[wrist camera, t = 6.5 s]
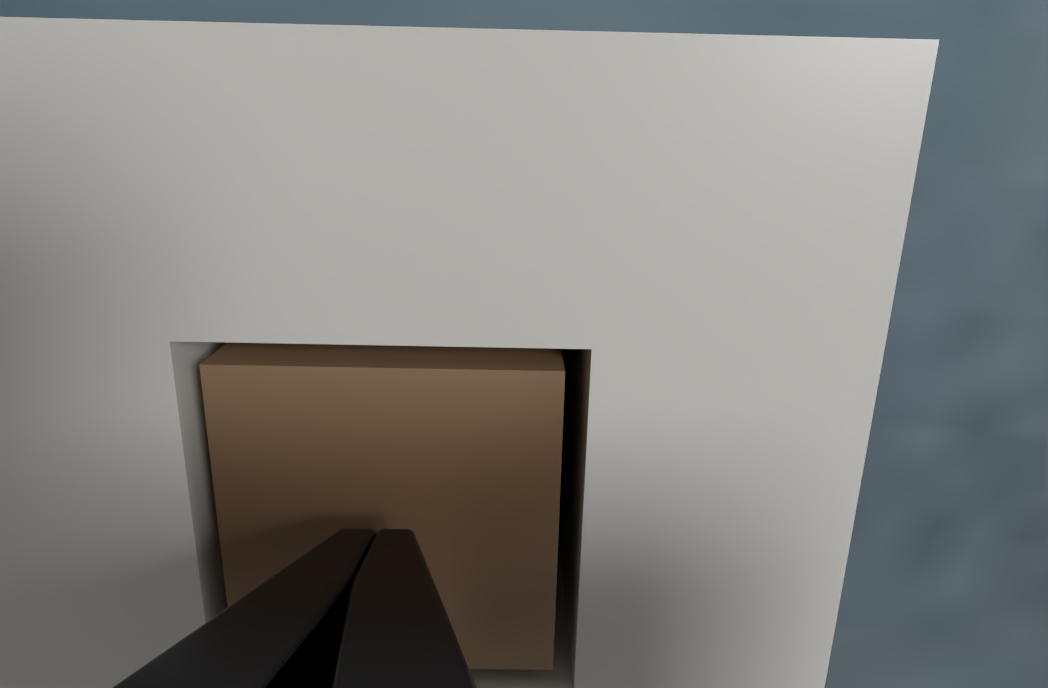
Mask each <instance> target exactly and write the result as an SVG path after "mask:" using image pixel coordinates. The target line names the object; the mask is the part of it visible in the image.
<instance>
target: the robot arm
mask: <svg viewBox="0 0 1048 688" xmlns="http://www.w3.org/2000/svg"><path fill="white" fill-rule="evenodd" d="M113 688H477V687H476V684H475V682H474V679H473V677H472V675H471V672H470V670H469V667H468V665H467V662H466V660H465V657H464V655H463V652H462V650H461V647H460V645H459V642H458V640H457V637H456V635H455V632H454V630H453V628H452V625H451V623H450V620H449V618H448V615H447V613H446V610H445V608H444V605H443V603H442V600H441V598H440V595H439V593H438V590H437V588H436V585H435V583H434V580H433V578H432V576H431V573H430V571H429V568H428V566H427V563H426V561H425V558H424V556H423V553H422V551H421V548H420V546H419V543H418V541H417V538H416V536H415V534H414V532H413V531H412V530H411V529H380V530H379V531H378V532H376V531H375V530H374V529H371V528H343V529H341V530H339V531H337V532H336V533H334V534H333V535H331V536H330V537H329V538H327V539H326V540H324V541H323V542H321V543H320V544H318V545H317V546H316V547H314V548H313V549H311V550H310V551H308V552H307V553H305V554H304V555H303V556H301V557H300V558H298V559H297V560H295V561H294V562H293V563H291V564H290V565H288V566H287V567H285V568H284V569H282V570H281V571H280V572H278V573H277V574H275V575H274V576H272V577H271V578H269V579H268V580H267V581H265V582H264V583H262V584H261V585H259V586H258V587H257V588H255V589H254V590H252V591H251V592H249V593H248V594H246V595H245V596H244V597H242V598H241V599H239V600H238V601H236V602H235V603H233V604H232V605H231V606H229V607H228V608H226V609H225V610H223V611H222V612H221V613H219V614H218V615H216V616H215V617H213V618H212V619H210V620H209V621H208V622H206V623H205V624H203V625H202V626H200V627H199V628H197V629H196V630H195V631H193V632H192V633H190V634H189V635H187V636H186V637H184V638H183V639H182V640H180V641H179V642H177V643H176V644H174V645H173V646H172V647H170V648H169V649H167V650H166V651H164V652H163V653H161V654H160V655H159V656H157V657H156V658H154V659H153V660H151V661H150V662H148V663H147V664H146V665H144V666H143V667H141V668H140V669H138V670H137V671H135V672H134V673H133V674H131V675H130V676H128V677H127V678H125V679H124V680H122V681H121V682H120V683H118V684H117V685H115V686H114V687H113Z"/></svg>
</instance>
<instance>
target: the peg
mask: <svg viewBox="0 0 1048 688" xmlns="http://www.w3.org/2000/svg"><path fill="white" fill-rule="evenodd" d="M199 367H200V376H201V384H202V393H203V401H204V410H205V418H206V427H207V436H208V444H209V453H210V461H211V470H212V478H213V487H214V495H215V504H216V512H217V521H218V529H219V538H220V547H221V555H222V564H223V572H224V581H225V589H226V598H227V606H228V607H229V606H231V605H232V604H233V603H235V602H236V601H238V600H239V599H241V598H242V597H244V596H245V595H246V594H248V593H249V592H251V591H252V590H254V589H255V588H257V587H258V586H259V585H261V584H262V583H264V582H265V581H267V580H268V579H269V578H271V577H272V576H274V575H275V574H277V573H278V572H280V571H281V570H282V569H284V568H285V567H287V566H288V565H290V564H291V563H293V562H294V561H295V560H297V559H298V558H300V557H301V556H303V555H304V554H305V553H307V552H308V551H310V550H311V549H313V548H314V547H316V546H317V545H318V544H320V543H321V542H323V541H324V540H326V539H327V538H329V537H330V536H331V535H333V534H334V533H336V532H337V531H339V530H341V529H343V528H371V529H374V530H375V531H376V532H378V531H379V530H380V529H411V530H412V531H413V532H414V534H415V536H416V538H417V541H418V543H419V546H420V548H421V551H422V553H423V556H424V558H425V561H426V563H427V566H428V568H429V571H430V573H431V576H432V578H433V580H434V583H435V585H436V588H437V590H438V593H439V595H440V598H441V600H442V603H443V605H444V608H445V610H446V613H447V615H448V618H449V620H450V623H451V625H452V628H453V630H454V632H455V635H456V637H457V640H458V642H459V645H460V647H461V650H462V652H463V655H464V657H465V660H466V662H467V665H468V667H469V669H515V670H553V658H554V633H555V609H556V584H557V560H558V536H559V511H560V487H561V462H562V438H563V414H564V389H565V367H564V362H563V356H562V350H561V349H550V348H497V347H443V346H389V345H336V344H282V343H229V342H227V343H226V344H225V345H223V346H222V347H221V348H220V349H218V350H217V351H216V352H214V353H213V354H212V355H211V356H209V357H208V358H207V359H206V360H204V361H203V362H202V363H201V364H199Z"/></svg>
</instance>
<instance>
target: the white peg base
mask: <svg viewBox="0 0 1048 688" xmlns="http://www.w3.org/2000/svg"><path fill="white" fill-rule="evenodd" d="M938 44H939V40H928V39H887V38H846V37H805V36H764V35H723V34H681V33H640V32H599V31H558V30H517V29H476V28H435V27H393V26H352V25H311V24H270V23H229V22H188V21H147V20H106V19H64V18H23V17H0V688H113V687H114V686H115V685H117V684H118V683H120V682H121V681H122V680H124V679H125V678H127V677H128V676H130V675H131V674H133V673H134V672H135V671H137V670H138V669H140V668H141V667H143V666H144V665H146V664H147V663H148V662H150V661H151V660H153V659H154V658H156V657H157V656H159V655H160V654H161V653H163V652H164V651H166V650H167V649H169V648H170V647H172V646H173V645H174V644H176V643H177V642H179V641H180V640H182V639H183V638H184V637H186V636H187V635H189V634H190V633H192V632H193V631H195V630H196V629H197V628H199V627H200V626H202V625H203V624H205V623H206V622H208V621H209V620H210V619H212V618H213V617H215V616H216V615H218V614H219V613H221V612H222V611H223V610H225V609H226V608H228V606H227V598H226V589H225V581H224V572H223V564H222V555H221V547H220V538H219V529H218V521H217V512H216V504H215V495H214V487H213V478H212V470H211V461H210V453H209V444H208V436H207V427H206V418H205V410H204V401H203V393H202V384H201V376H200V367H199V364H201V363H202V362H203V361H204V360H206V359H207V358H208V357H209V356H211V355H212V354H213V353H214V352H216V351H217V350H218V349H220V348H221V347H222V346H223V345H225V344H226V343H227V342H229V343H282V344H336V345H389V346H443V347H497V348H550V349H561V350H562V356H563V362H564V367H565V389H564V414H563V438H562V462H561V487H560V511H559V536H558V560H557V584H556V609H555V633H554V658H553V670H515V669H469V670H470V672H471V675H472V677H473V679H474V682H475V684H476V687H477V688H824V687H825V681H826V676H827V670H828V664H829V659H830V653H831V647H832V642H833V636H834V631H835V625H836V619H837V614H838V608H839V602H840V597H841V591H842V585H843V580H844V574H845V569H846V563H847V557H848V552H849V546H850V540H851V535H852V529H853V523H854V518H855V512H856V507H857V501H858V495H859V490H860V484H861V478H862V473H863V467H864V461H865V456H866V450H867V445H868V439H869V433H870V428H871V422H872V416H873V411H874V405H875V399H876V394H877V388H878V383H879V377H880V371H881V366H882V360H883V354H884V349H885V343H886V337H887V332H888V326H889V321H890V315H891V309H892V304H893V298H894V292H895V287H896V281H897V275H898V270H899V264H900V259H901V253H902V247H903V242H904V236H905V230H906V225H907V219H908V213H909V208H910V202H911V197H912V191H913V185H914V180H915V174H916V168H917V163H918V157H919V151H920V146H921V140H922V135H923V129H924V123H925V118H926V112H927V106H928V101H929V95H930V89H931V84H932V78H933V73H934V67H935V61H936V56H937V50H938Z"/></svg>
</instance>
